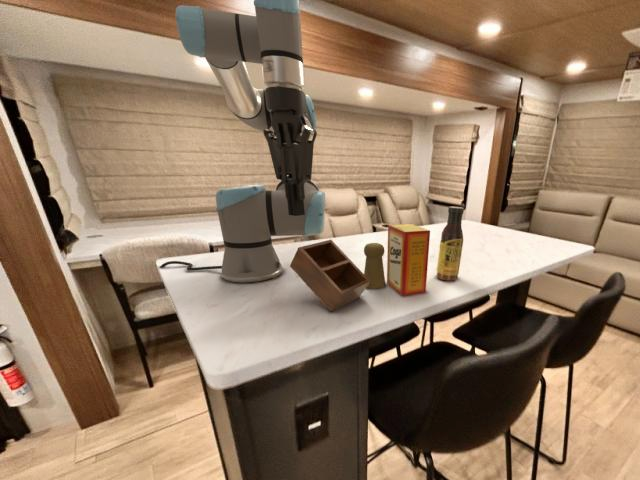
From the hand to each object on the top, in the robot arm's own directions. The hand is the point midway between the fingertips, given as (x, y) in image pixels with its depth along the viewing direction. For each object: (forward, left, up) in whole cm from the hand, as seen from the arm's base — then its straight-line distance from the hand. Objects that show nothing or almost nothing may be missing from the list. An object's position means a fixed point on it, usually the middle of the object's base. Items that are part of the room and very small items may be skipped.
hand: (296, 214), depth 69 cm
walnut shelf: (+8, 0, -14) cm, 16 cm away
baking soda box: (+19, +17, -19) cm, 32 cm away
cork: (+11, +14, -19) cm, 26 cm away
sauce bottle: (+25, +31, -19) cm, 44 cm away
